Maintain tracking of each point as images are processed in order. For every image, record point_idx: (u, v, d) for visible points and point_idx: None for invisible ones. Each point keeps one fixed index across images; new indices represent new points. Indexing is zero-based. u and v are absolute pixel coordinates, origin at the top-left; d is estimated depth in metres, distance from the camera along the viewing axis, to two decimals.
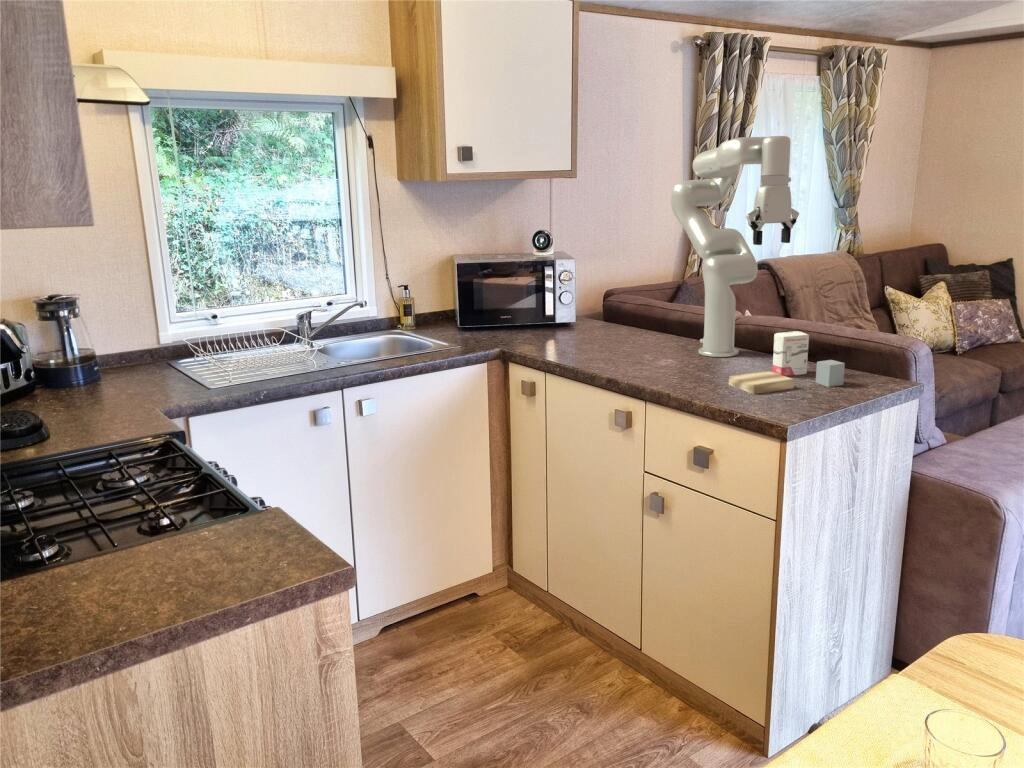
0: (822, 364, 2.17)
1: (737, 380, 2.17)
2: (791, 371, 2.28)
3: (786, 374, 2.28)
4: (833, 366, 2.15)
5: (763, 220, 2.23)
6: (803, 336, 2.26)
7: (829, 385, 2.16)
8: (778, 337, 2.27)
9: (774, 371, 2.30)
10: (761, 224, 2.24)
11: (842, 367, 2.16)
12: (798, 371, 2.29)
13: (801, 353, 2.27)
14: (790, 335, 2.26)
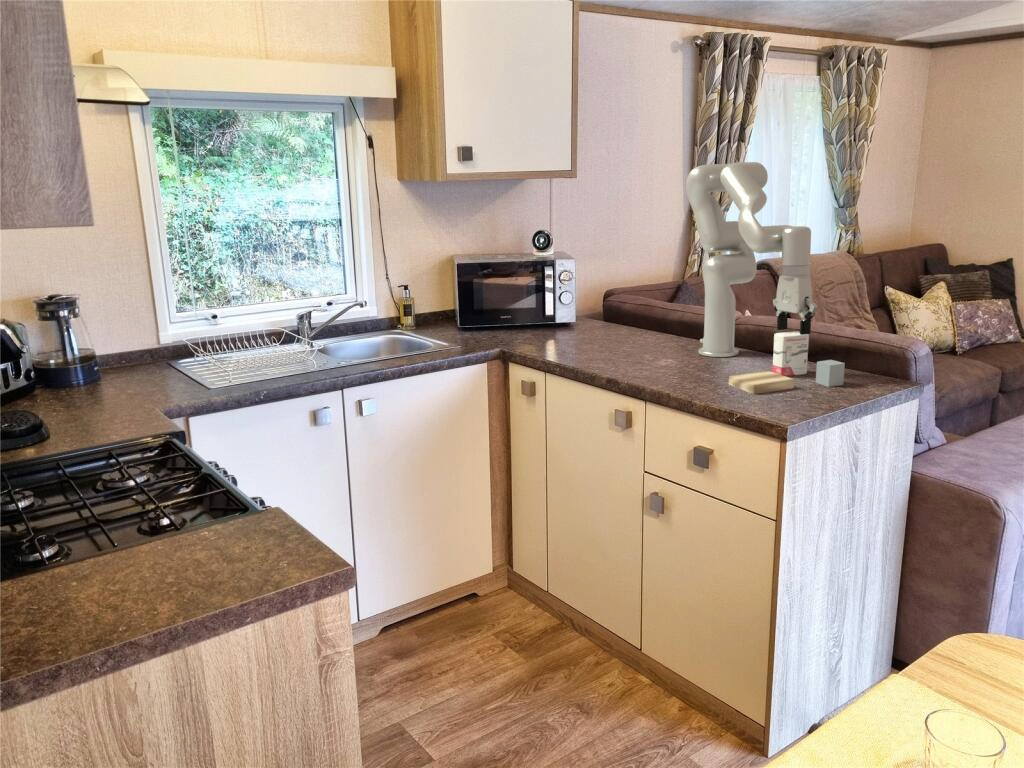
0: (822, 364, 2.17)
1: (737, 380, 2.17)
2: (791, 371, 2.28)
3: (786, 374, 2.28)
4: (833, 366, 2.15)
5: None
6: (803, 336, 2.26)
7: (829, 385, 2.16)
8: (778, 337, 2.27)
9: (774, 371, 2.30)
10: None
11: (842, 367, 2.16)
12: (798, 370, 2.29)
13: (801, 353, 2.27)
14: (790, 335, 2.26)
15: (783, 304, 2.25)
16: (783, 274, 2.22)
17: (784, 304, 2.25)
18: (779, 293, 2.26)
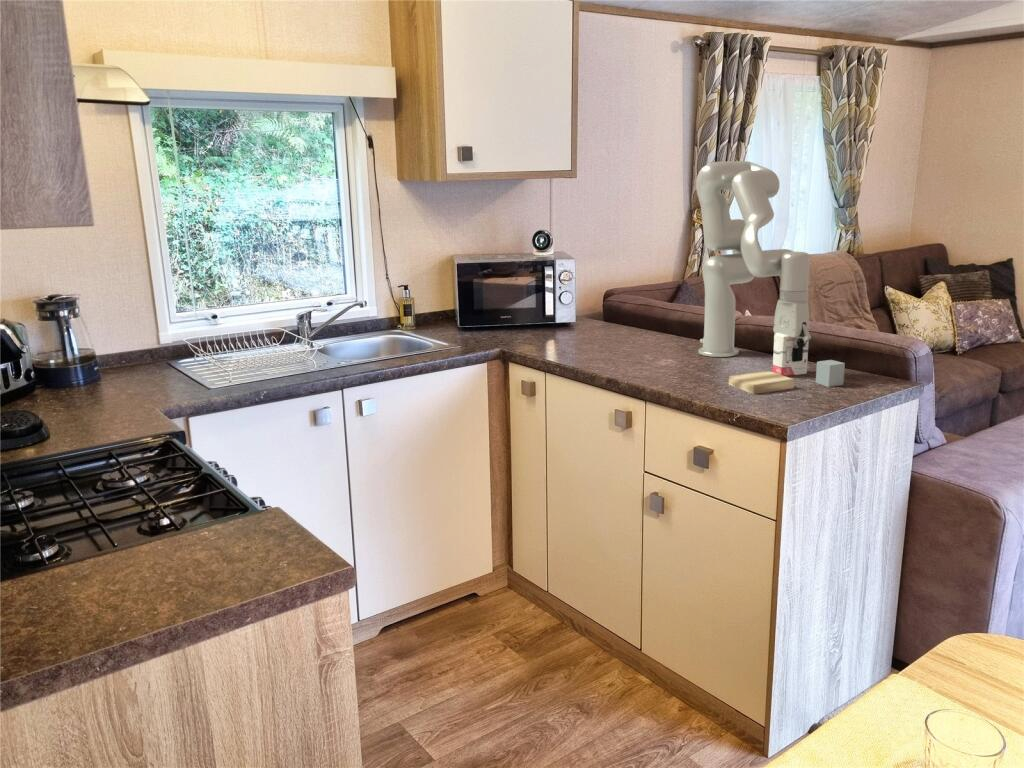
0: (822, 364, 2.17)
1: (737, 380, 2.17)
2: (791, 371, 2.28)
3: (786, 374, 2.28)
4: (833, 366, 2.15)
5: None
6: None
7: (829, 385, 2.16)
8: (778, 337, 2.27)
9: (774, 371, 2.30)
10: None
11: (842, 367, 2.16)
12: (798, 370, 2.29)
13: None
14: None
15: (781, 328, 2.27)
16: (781, 299, 2.24)
17: (782, 328, 2.27)
18: (777, 317, 2.29)
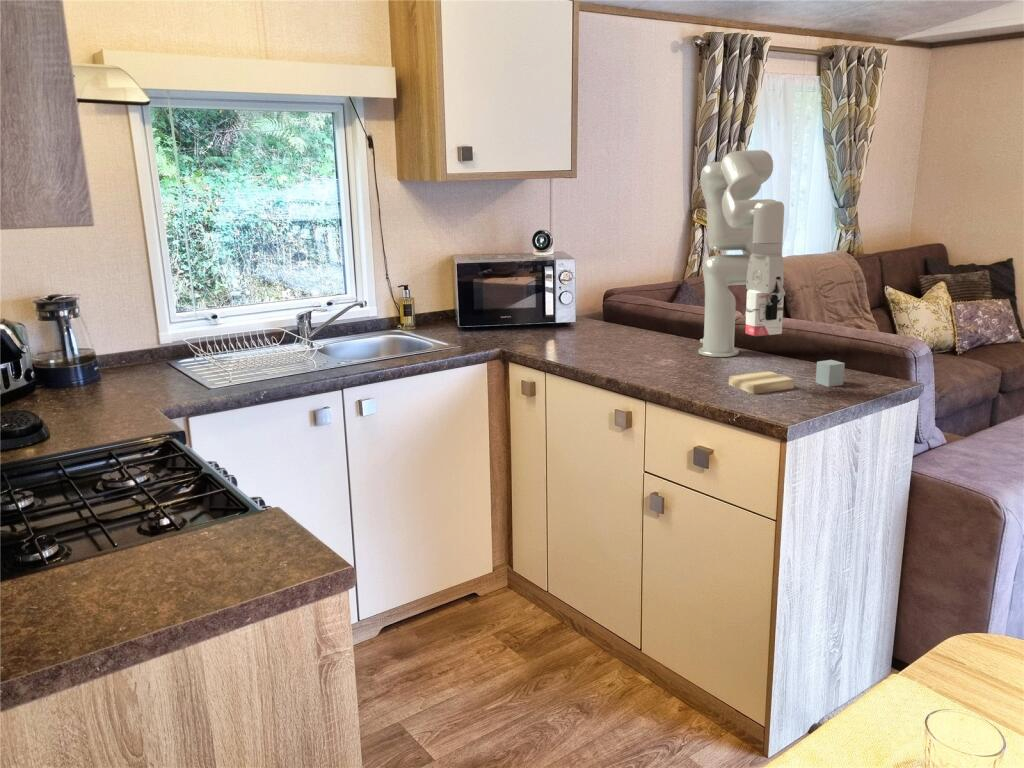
0: (822, 364, 2.17)
1: (737, 380, 2.17)
2: (765, 331, 2.12)
3: (759, 334, 2.12)
4: (833, 366, 2.15)
5: None
6: None
7: (829, 385, 2.16)
8: (751, 294, 2.11)
9: (747, 331, 2.14)
10: None
11: (842, 367, 2.16)
12: (773, 330, 2.12)
13: None
14: None
15: (753, 284, 2.11)
16: (754, 252, 2.08)
17: (755, 284, 2.11)
18: (750, 272, 2.12)
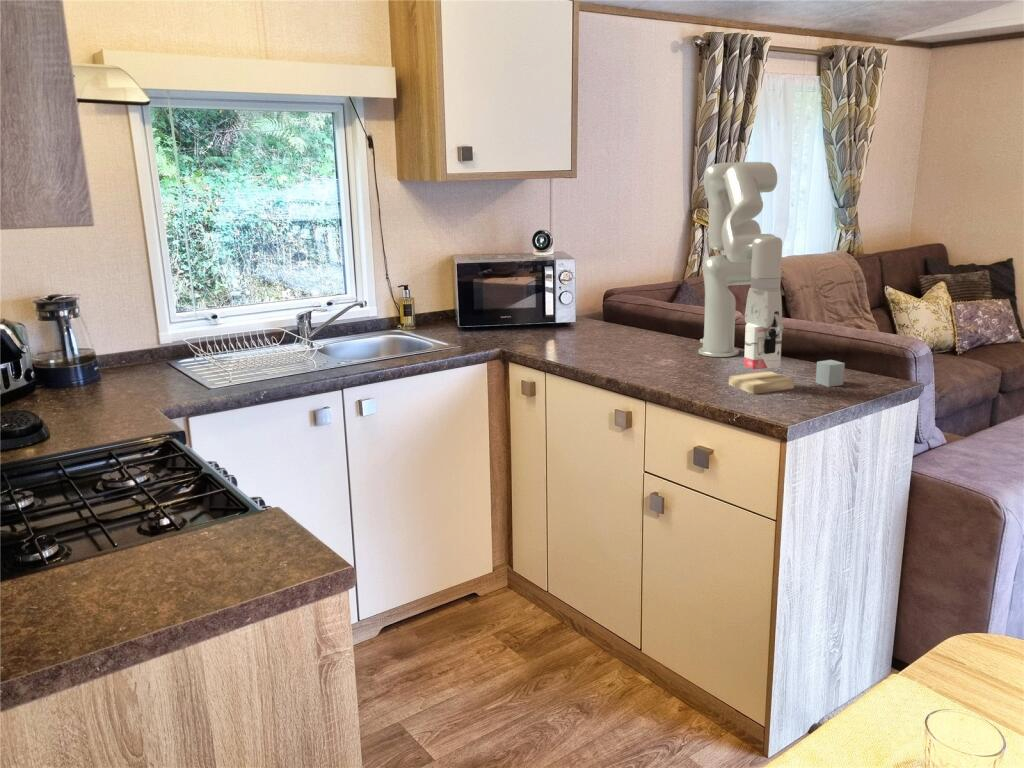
0: (822, 364, 2.17)
1: (737, 380, 2.17)
2: (763, 364, 2.14)
3: (758, 367, 2.14)
4: (833, 366, 2.15)
5: None
6: None
7: (829, 385, 2.16)
8: (749, 327, 2.13)
9: (746, 364, 2.16)
10: None
11: (842, 367, 2.16)
12: (771, 363, 2.15)
13: None
14: None
15: (752, 318, 2.13)
16: (752, 287, 2.10)
17: (753, 318, 2.13)
18: (748, 306, 2.15)
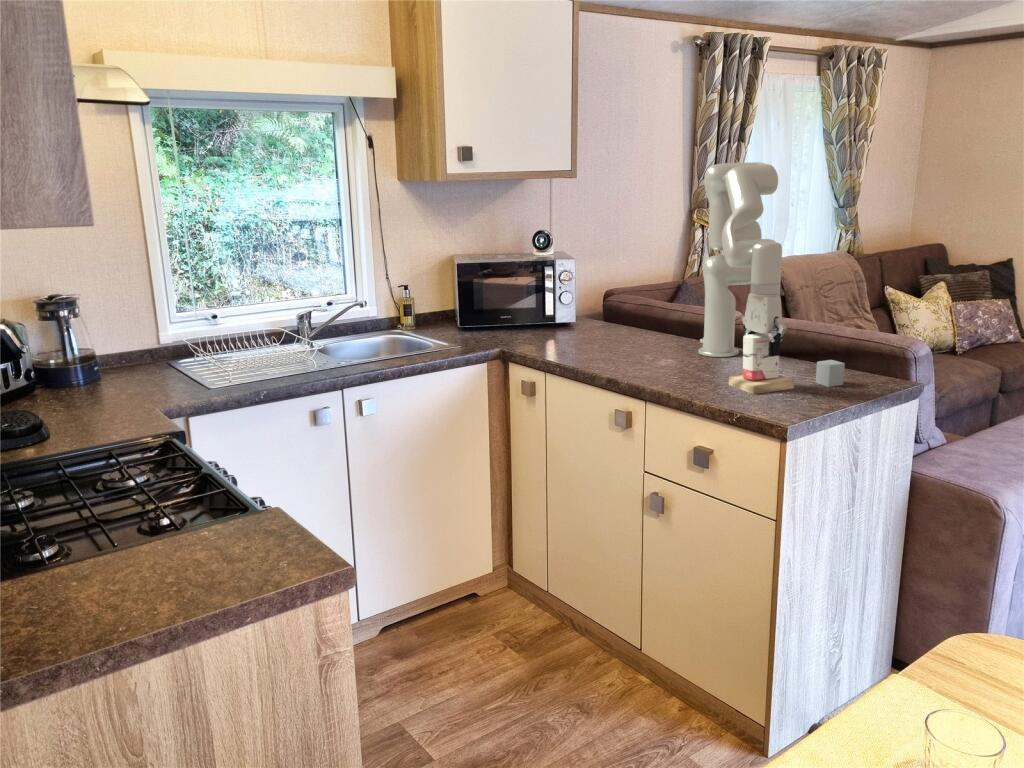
0: (822, 364, 2.17)
1: (737, 381, 2.17)
2: (762, 375, 2.15)
3: (757, 378, 2.15)
4: (833, 366, 2.15)
5: None
6: None
7: (829, 385, 2.16)
8: (747, 339, 2.14)
9: (744, 375, 2.17)
10: None
11: (842, 367, 2.16)
12: (770, 374, 2.16)
13: None
14: (760, 336, 2.14)
15: (752, 323, 2.14)
16: (752, 292, 2.11)
17: (753, 323, 2.13)
18: (748, 311, 2.15)
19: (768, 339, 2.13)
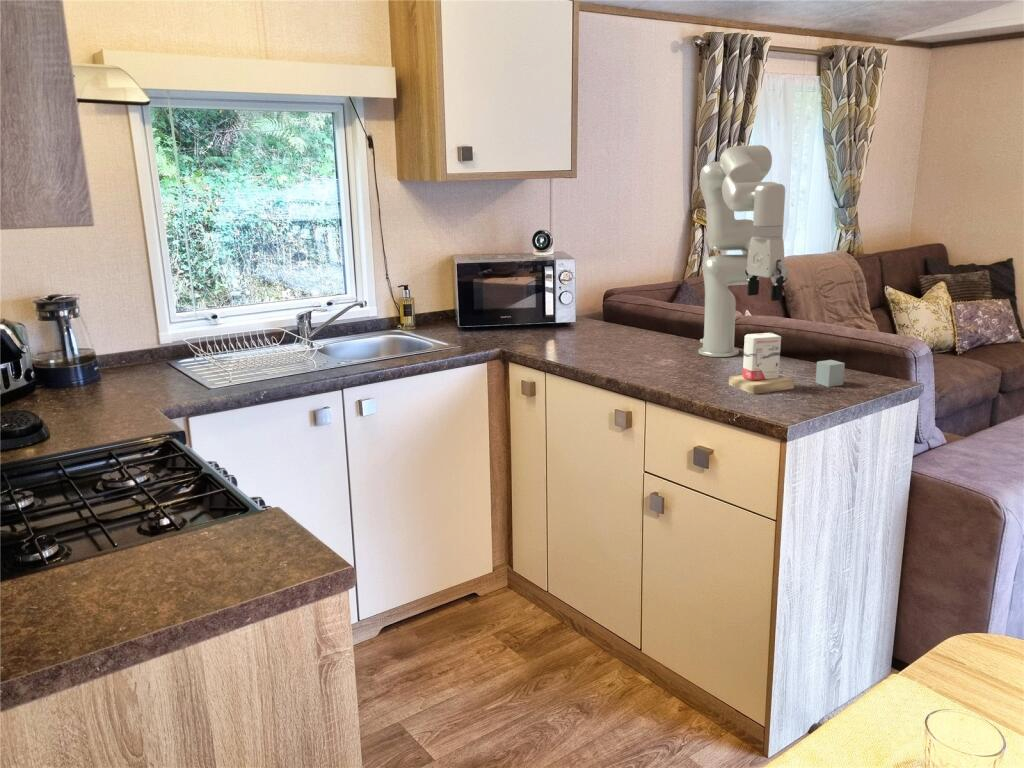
0: (822, 364, 2.17)
1: (737, 380, 2.17)
2: (762, 375, 2.15)
3: (756, 378, 2.15)
4: (833, 366, 2.15)
5: None
6: (775, 338, 2.13)
7: (829, 385, 2.16)
8: (748, 338, 2.14)
9: (744, 375, 2.17)
10: None
11: (842, 367, 2.16)
12: (769, 374, 2.16)
13: (773, 356, 2.15)
14: (761, 337, 2.13)
15: (754, 268, 2.10)
16: (754, 235, 2.07)
17: (755, 267, 2.10)
18: (750, 256, 2.11)
19: (769, 340, 2.13)
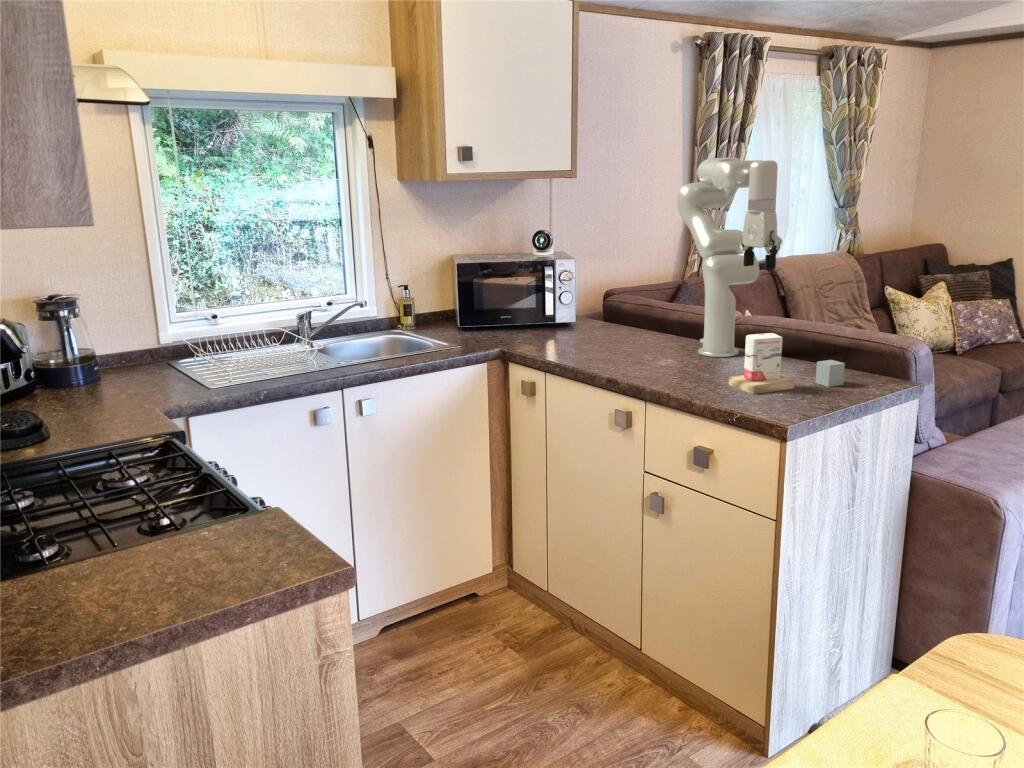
0: (822, 364, 2.17)
1: (737, 381, 2.17)
2: (762, 376, 2.15)
3: (757, 379, 2.15)
4: (833, 366, 2.15)
5: None
6: (776, 339, 2.13)
7: (829, 385, 2.16)
8: (749, 339, 2.14)
9: (745, 375, 2.17)
10: None
11: (842, 367, 2.16)
12: (770, 375, 2.15)
13: (774, 357, 2.14)
14: (762, 337, 2.13)
15: (749, 239, 2.26)
16: (749, 208, 2.23)
17: (750, 239, 2.26)
18: (746, 228, 2.28)
19: (770, 341, 2.12)
